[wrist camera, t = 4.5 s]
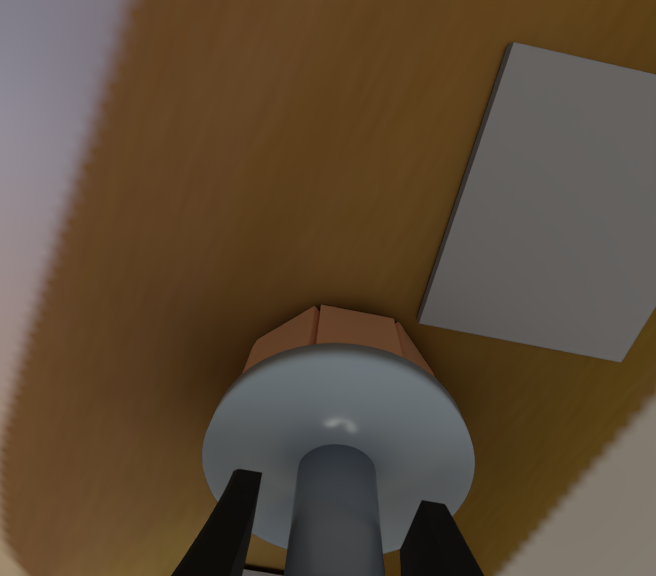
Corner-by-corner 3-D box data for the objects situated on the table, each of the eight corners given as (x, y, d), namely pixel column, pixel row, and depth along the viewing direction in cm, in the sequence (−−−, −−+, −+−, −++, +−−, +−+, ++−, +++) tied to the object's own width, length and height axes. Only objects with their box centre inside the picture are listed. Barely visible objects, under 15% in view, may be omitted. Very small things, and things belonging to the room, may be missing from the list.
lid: (416, 551, 13) (443, 714, 10) (198, 508, 13) (141, 663, 9) (510, 378, 10) (601, 523, 7) (228, 313, 10) (160, 431, 6)
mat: (613, 355, 13) (621, 362, 13) (416, 317, 13) (418, 323, 13) (765, 103, 10) (781, 103, 10) (507, 45, 10) (514, 42, 9)
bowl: (400, 466, 16) (411, 539, 13) (240, 437, 16) (218, 507, 13) (452, 329, 13) (480, 386, 10) (260, 292, 13) (238, 340, 10)
